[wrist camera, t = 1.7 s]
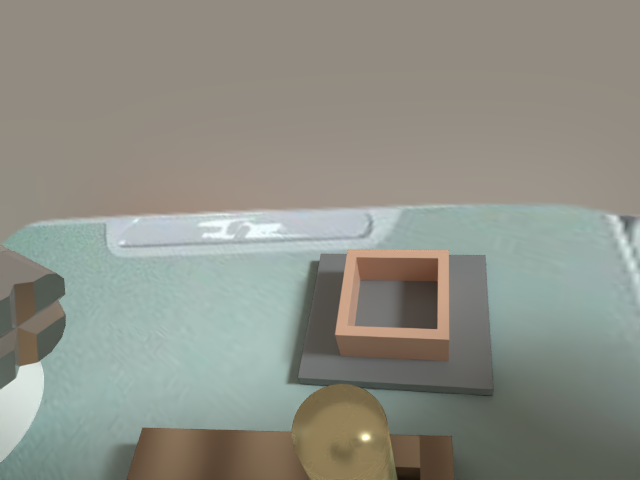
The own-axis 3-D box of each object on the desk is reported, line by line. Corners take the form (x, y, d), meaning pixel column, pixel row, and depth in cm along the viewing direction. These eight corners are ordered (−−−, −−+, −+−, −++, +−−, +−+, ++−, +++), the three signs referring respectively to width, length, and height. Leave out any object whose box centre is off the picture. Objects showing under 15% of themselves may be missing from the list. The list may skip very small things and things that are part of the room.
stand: (484, 262, 47) (487, 231, 44) (492, 395, 39) (496, 368, 36) (322, 260, 50) (315, 231, 47) (300, 383, 42) (289, 357, 39)
